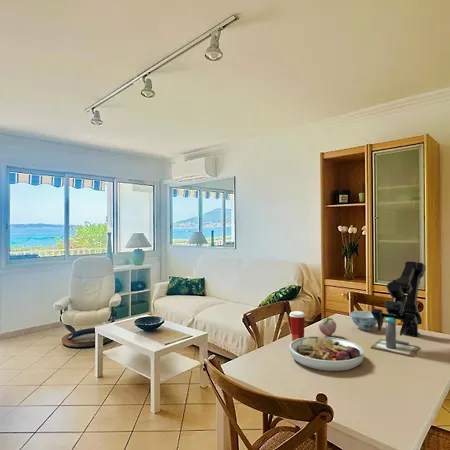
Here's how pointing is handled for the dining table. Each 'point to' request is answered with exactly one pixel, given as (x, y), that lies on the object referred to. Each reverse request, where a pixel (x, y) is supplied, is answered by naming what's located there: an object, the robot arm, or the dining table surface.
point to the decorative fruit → (327, 326)
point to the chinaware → (363, 319)
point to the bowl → (326, 353)
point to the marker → (390, 333)
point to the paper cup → (297, 324)
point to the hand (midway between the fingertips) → (389, 332)
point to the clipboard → (397, 348)
